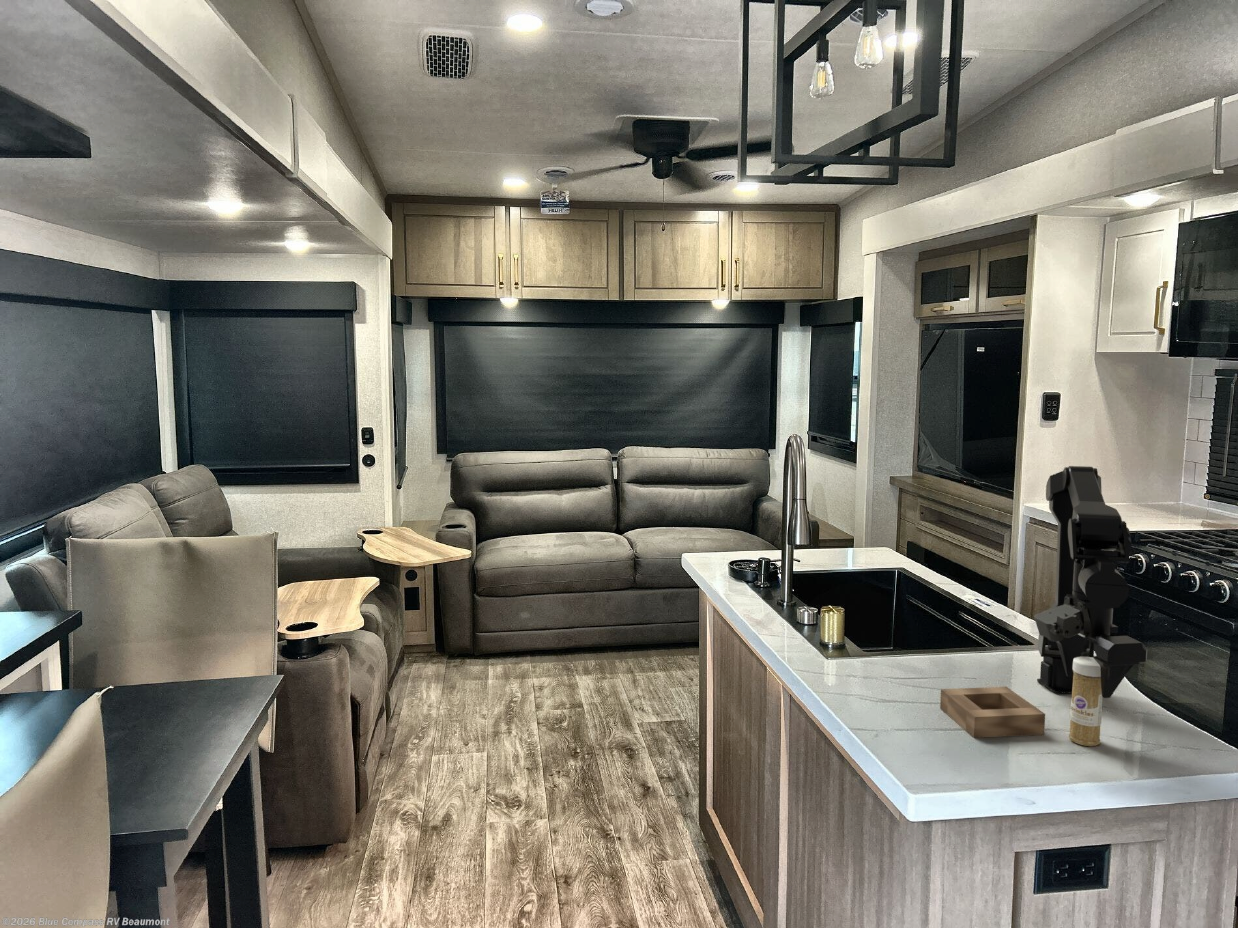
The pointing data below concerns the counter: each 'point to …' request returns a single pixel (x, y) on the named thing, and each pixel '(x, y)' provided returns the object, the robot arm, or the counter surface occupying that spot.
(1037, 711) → the socket block
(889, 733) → the counter surface
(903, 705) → the counter surface
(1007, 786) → the counter surface
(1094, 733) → the sprinkles bottle
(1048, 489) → the robot arm
